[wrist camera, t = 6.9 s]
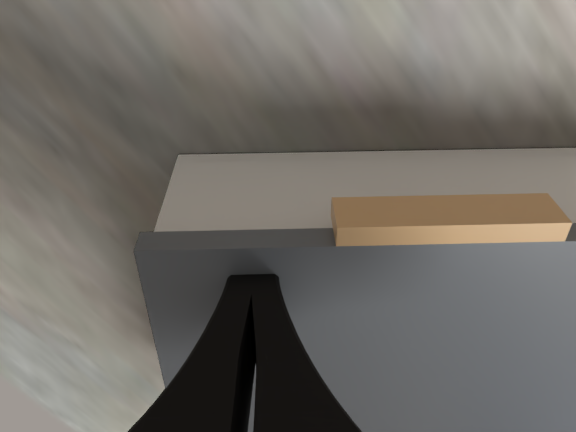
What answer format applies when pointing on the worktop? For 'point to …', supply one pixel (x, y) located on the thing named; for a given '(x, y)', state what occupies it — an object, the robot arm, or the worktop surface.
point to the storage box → (348, 183)
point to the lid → (400, 306)
